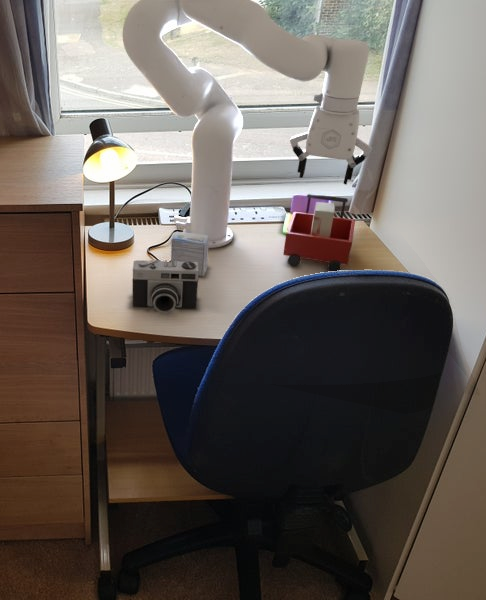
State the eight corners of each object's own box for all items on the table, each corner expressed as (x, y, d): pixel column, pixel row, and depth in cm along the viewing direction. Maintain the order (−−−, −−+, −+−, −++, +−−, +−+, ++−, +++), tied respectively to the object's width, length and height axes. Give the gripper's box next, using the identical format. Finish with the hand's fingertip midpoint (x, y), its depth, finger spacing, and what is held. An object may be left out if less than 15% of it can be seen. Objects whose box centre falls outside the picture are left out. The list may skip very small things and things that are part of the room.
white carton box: (309, 239, 153) (315, 200, 148) (328, 241, 152) (335, 202, 147) (307, 248, 149) (314, 209, 144) (327, 251, 148) (334, 212, 142)
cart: (281, 264, 149) (288, 215, 142) (289, 237, 160) (296, 191, 153) (345, 274, 144) (356, 224, 137) (349, 246, 156) (359, 198, 149)
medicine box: (207, 268, 148) (209, 235, 143) (203, 277, 144) (205, 243, 140) (174, 263, 150) (176, 230, 146) (170, 272, 147) (171, 239, 142)
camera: (126, 315, 132) (127, 272, 127) (135, 293, 140) (135, 253, 134) (193, 323, 129) (196, 280, 124) (198, 300, 137) (201, 259, 132)
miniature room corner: (332, 220, 168) (336, 196, 164) (330, 240, 159) (335, 215, 155) (286, 215, 171) (289, 191, 168) (281, 234, 162) (285, 209, 158)
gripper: (294, 103, 133) (282, 179, 143) (381, 112, 128) (362, 191, 137) (299, 93, 139) (287, 167, 149) (382, 102, 134) (364, 178, 143)
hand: (323, 179), depth 143 cm, fingers open, 9 cm apart
